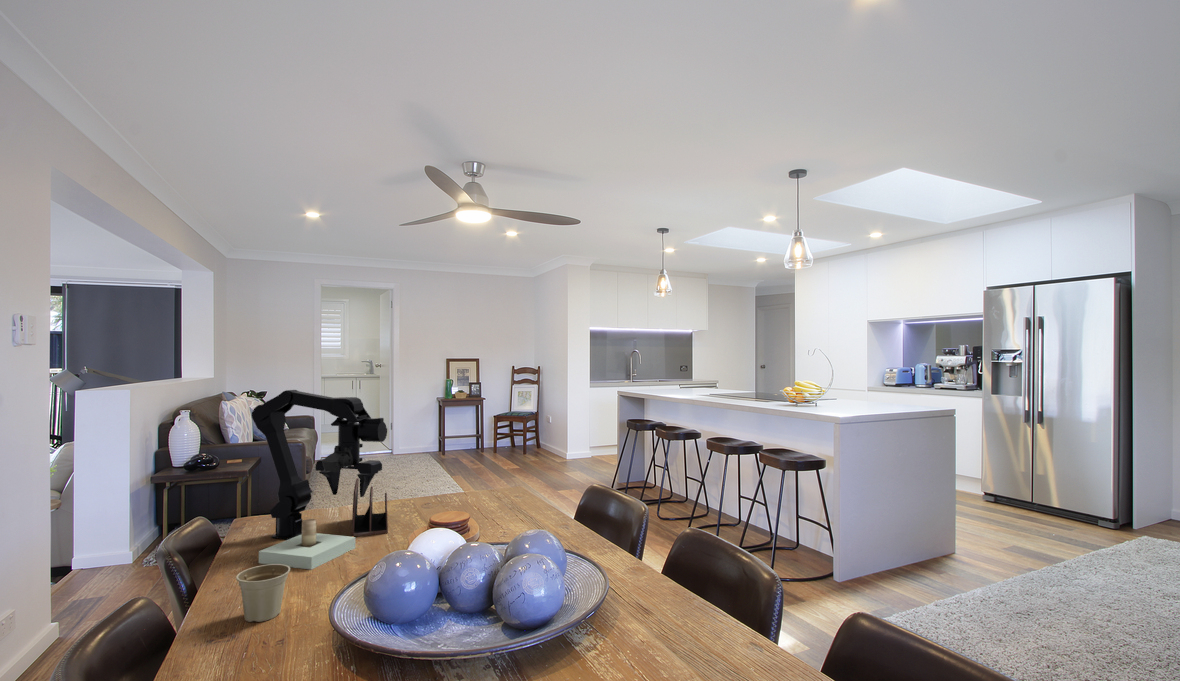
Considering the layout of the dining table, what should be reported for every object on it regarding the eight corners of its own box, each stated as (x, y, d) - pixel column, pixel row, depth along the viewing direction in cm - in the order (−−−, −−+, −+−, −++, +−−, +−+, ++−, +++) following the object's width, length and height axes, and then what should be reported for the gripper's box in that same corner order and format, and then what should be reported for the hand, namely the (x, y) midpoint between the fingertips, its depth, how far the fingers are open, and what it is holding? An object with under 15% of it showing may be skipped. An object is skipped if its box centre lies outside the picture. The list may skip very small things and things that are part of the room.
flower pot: (300, 609, 115) (301, 566, 116) (259, 630, 106) (260, 584, 107) (265, 602, 118) (266, 561, 119) (223, 622, 110) (224, 577, 110)
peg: (298, 557, 146) (298, 522, 146) (308, 552, 149) (308, 518, 149) (309, 558, 145) (309, 523, 145) (319, 553, 148) (319, 519, 148)
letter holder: (351, 537, 162) (351, 488, 162) (354, 519, 181) (355, 475, 181) (388, 534, 165) (388, 485, 166) (387, 516, 184) (388, 473, 184)
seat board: (258, 563, 141) (258, 551, 141) (306, 543, 157) (306, 532, 157) (311, 569, 137) (311, 557, 137) (355, 548, 152) (355, 537, 153)
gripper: (301, 444, 157) (300, 500, 156) (358, 446, 152) (357, 505, 151) (329, 438, 168) (328, 491, 167) (383, 441, 163) (382, 495, 162)
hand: (348, 495), depth 162 cm, fingers open, 9 cm apart
